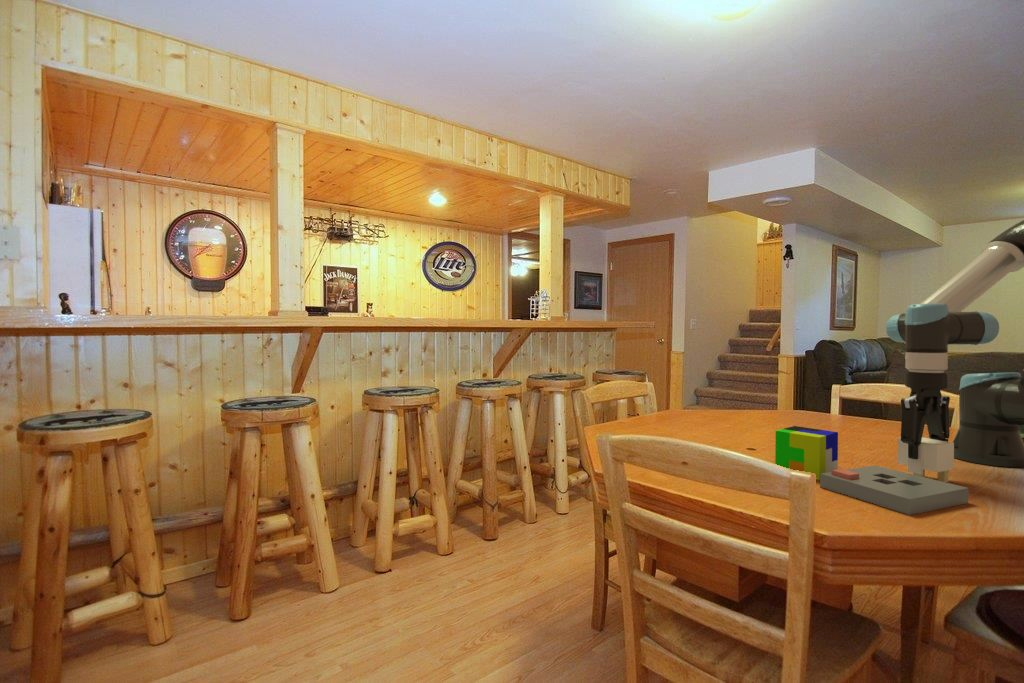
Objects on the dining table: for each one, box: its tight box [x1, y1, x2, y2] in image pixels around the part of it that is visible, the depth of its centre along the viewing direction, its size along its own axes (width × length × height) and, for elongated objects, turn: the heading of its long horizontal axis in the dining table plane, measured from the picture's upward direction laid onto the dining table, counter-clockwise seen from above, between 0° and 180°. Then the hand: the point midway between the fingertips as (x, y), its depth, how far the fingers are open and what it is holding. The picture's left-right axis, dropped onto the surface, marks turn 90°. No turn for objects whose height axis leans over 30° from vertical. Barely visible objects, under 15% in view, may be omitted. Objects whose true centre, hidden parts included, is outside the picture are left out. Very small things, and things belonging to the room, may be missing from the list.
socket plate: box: [819, 465, 970, 516], centre depth 105 cm, size 18×18×4 cm
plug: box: [897, 436, 955, 483], centre depth 115 cm, size 6×8×9 cm
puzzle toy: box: [774, 425, 839, 481], centre depth 122 cm, size 10×10×10 cm
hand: (925, 471), depth 115 cm, fingers closed on plug, 6 cm apart
